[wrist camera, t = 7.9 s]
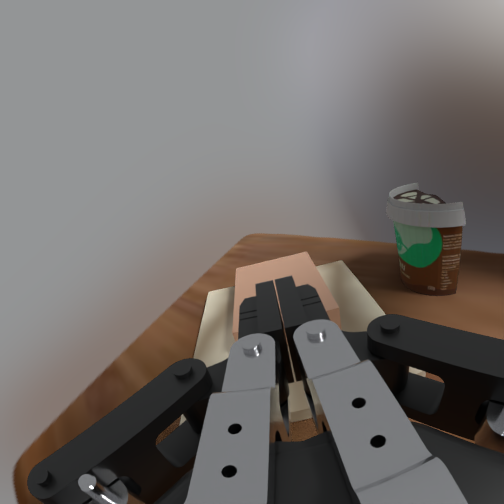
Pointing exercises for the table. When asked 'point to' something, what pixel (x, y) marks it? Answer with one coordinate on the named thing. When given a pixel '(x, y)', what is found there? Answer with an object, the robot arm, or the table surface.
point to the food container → (427, 239)
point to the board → (221, 339)
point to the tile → (279, 268)
